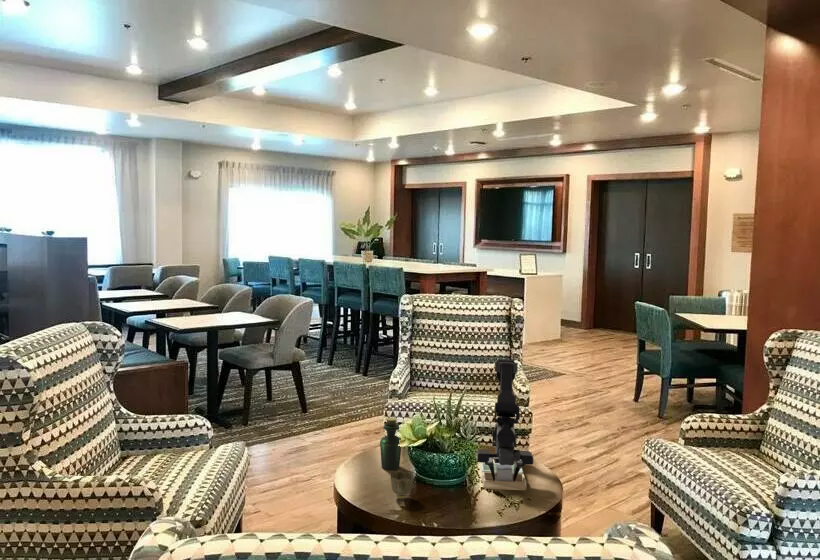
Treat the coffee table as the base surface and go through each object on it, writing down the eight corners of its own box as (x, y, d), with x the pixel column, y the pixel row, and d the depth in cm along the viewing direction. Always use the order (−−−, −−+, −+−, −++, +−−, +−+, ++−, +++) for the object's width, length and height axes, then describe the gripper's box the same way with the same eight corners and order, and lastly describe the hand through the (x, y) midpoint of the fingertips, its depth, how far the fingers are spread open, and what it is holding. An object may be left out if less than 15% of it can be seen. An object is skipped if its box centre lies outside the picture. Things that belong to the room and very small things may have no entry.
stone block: (495, 481, 219) (496, 464, 218) (510, 482, 218) (510, 464, 218) (496, 486, 214) (497, 469, 213) (511, 487, 213) (512, 470, 213)
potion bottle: (400, 463, 238) (401, 415, 236) (402, 470, 229) (403, 421, 228) (378, 463, 236) (379, 416, 235) (380, 471, 228) (381, 422, 227)
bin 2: (482, 481, 221) (482, 471, 220) (523, 483, 220) (523, 473, 220) (483, 491, 212) (483, 480, 212) (526, 493, 211) (526, 482, 211)
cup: (401, 492, 210) (402, 468, 209) (417, 498, 205) (418, 474, 204) (385, 498, 205) (385, 473, 204) (400, 505, 199) (401, 480, 199)
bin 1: (480, 471, 230) (480, 462, 230) (519, 473, 229) (520, 464, 229) (481, 480, 222) (482, 470, 222) (522, 482, 221) (523, 472, 221)
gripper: (478, 442, 207) (477, 489, 208) (536, 445, 206) (534, 492, 207) (477, 432, 219) (475, 477, 219) (531, 434, 218) (530, 479, 218)
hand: (503, 481), depth 216 cm, fingers open, 6 cm apart
